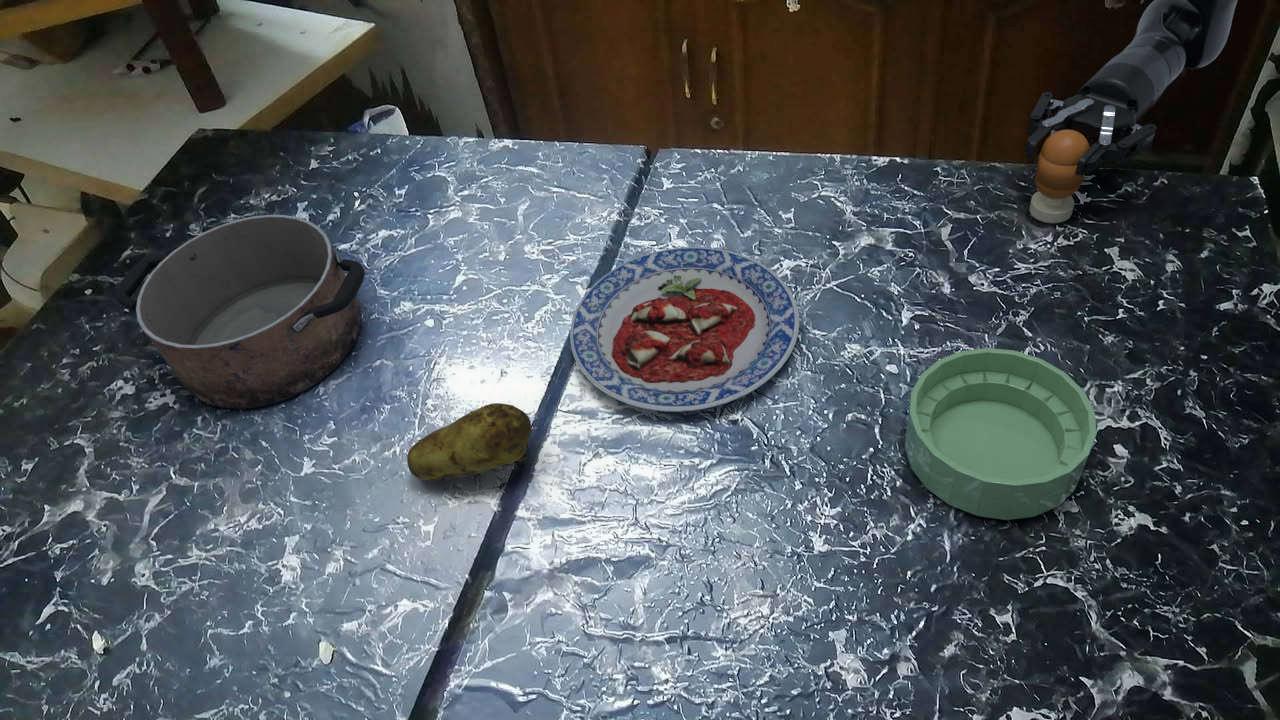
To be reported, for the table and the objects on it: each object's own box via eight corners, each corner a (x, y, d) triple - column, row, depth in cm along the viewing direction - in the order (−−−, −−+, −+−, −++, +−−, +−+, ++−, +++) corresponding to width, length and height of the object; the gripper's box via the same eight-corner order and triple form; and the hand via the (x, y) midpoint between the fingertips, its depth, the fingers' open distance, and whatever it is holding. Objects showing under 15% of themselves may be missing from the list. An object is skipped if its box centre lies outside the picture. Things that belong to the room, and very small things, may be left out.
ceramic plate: (777, 439, 94) (776, 421, 92) (542, 405, 101) (536, 387, 99) (815, 270, 110) (815, 251, 108) (610, 251, 117) (607, 233, 115)
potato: (439, 426, 101) (417, 378, 95) (549, 442, 98) (534, 393, 92) (407, 488, 96) (382, 441, 90) (523, 508, 92) (504, 460, 86)
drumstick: (1064, 194, 114) (1084, 117, 106) (1080, 221, 111) (1102, 143, 103) (1021, 200, 114) (1038, 124, 106) (1036, 227, 111) (1054, 149, 103)
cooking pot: (416, 282, 118) (390, 216, 110) (351, 419, 103) (315, 353, 95) (208, 276, 124) (168, 213, 116) (118, 404, 109) (66, 341, 101)
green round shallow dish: (1044, 379, 95) (1057, 338, 91) (1109, 511, 84) (1126, 472, 80) (887, 398, 96) (891, 359, 92) (930, 532, 85) (937, 494, 81)
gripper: (1072, 46, 113) (1001, 112, 106) (1194, 79, 106) (1126, 153, 98) (1059, 100, 119) (991, 166, 111) (1174, 135, 111) (1109, 209, 104)
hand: (1055, 159), depth 105 cm, fingers closed on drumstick, 5 cm apart
